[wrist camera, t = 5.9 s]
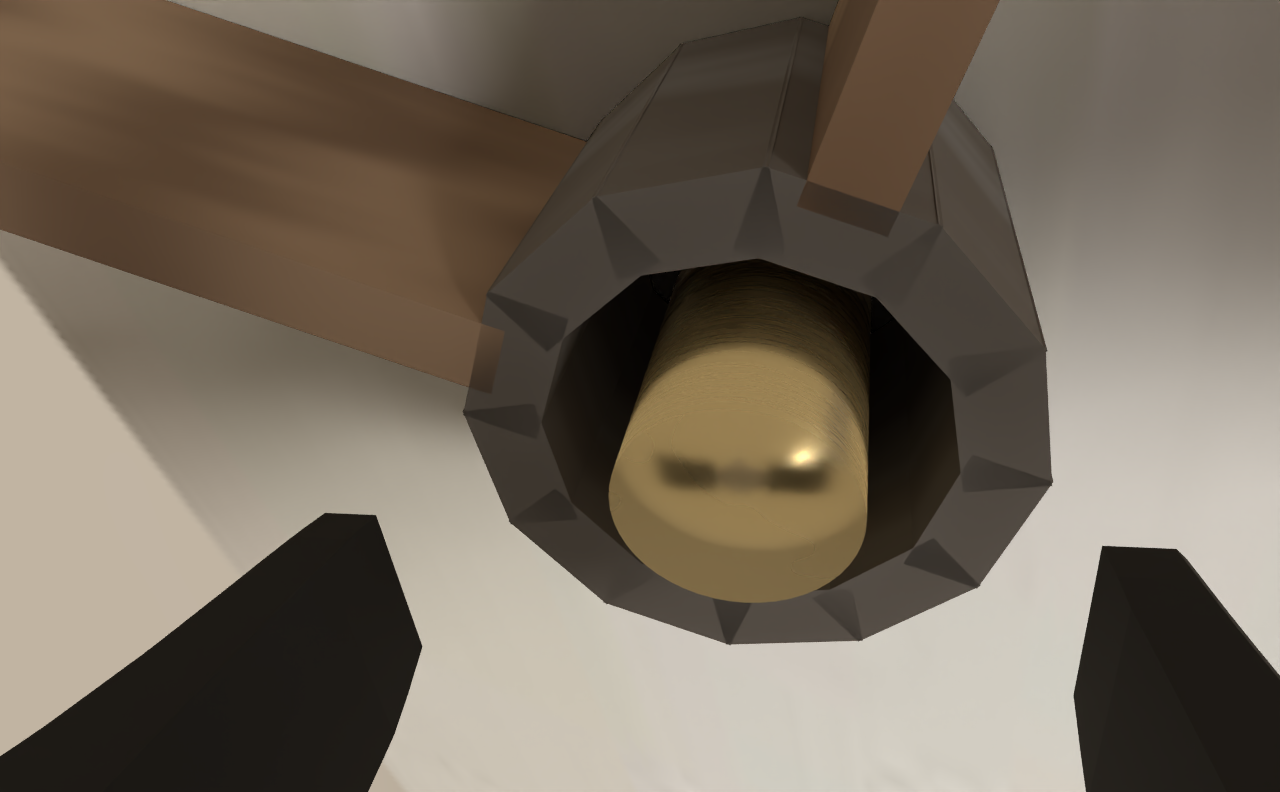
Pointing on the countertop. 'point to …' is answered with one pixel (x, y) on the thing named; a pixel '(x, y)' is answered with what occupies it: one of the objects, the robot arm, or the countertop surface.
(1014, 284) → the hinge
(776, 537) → the pin
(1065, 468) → the countertop surface
